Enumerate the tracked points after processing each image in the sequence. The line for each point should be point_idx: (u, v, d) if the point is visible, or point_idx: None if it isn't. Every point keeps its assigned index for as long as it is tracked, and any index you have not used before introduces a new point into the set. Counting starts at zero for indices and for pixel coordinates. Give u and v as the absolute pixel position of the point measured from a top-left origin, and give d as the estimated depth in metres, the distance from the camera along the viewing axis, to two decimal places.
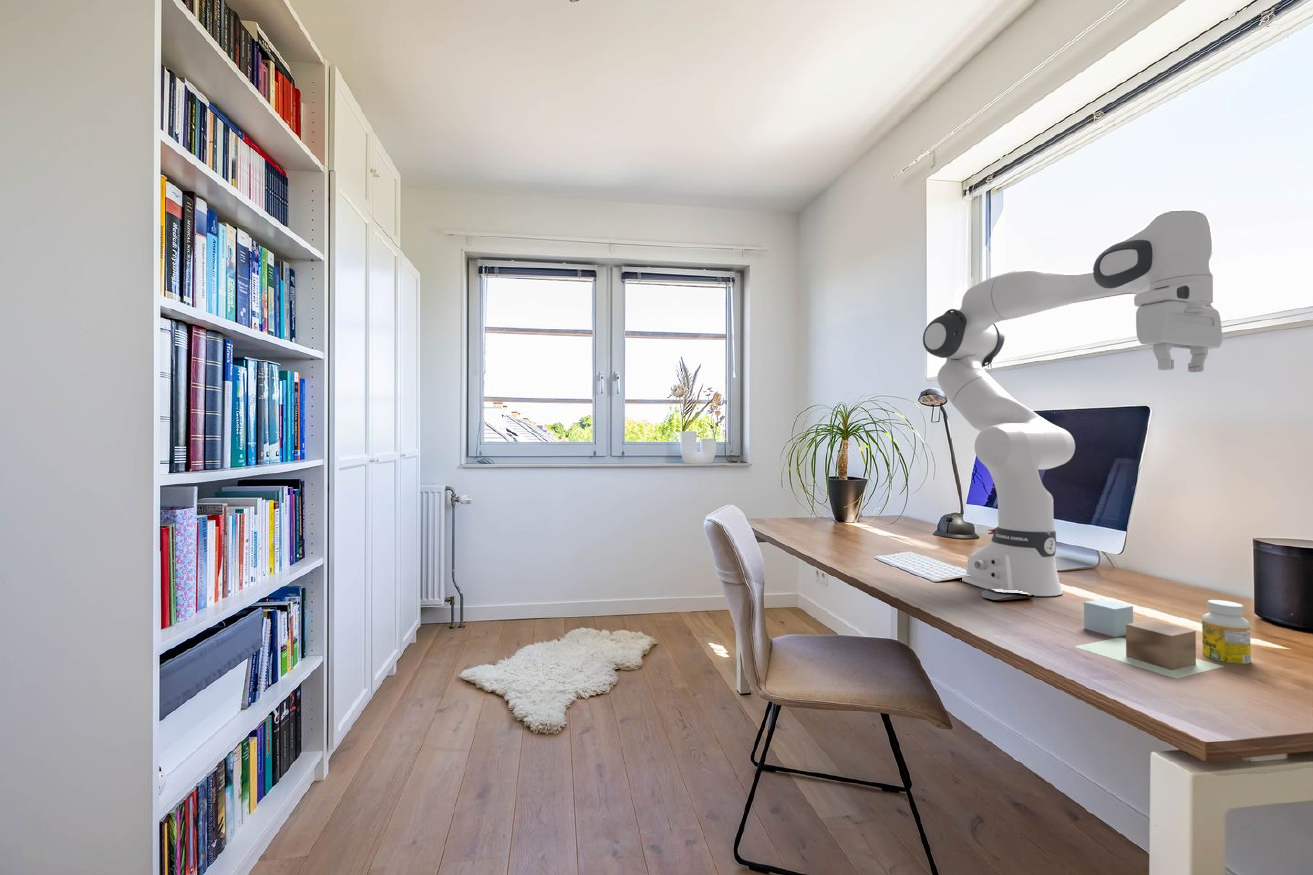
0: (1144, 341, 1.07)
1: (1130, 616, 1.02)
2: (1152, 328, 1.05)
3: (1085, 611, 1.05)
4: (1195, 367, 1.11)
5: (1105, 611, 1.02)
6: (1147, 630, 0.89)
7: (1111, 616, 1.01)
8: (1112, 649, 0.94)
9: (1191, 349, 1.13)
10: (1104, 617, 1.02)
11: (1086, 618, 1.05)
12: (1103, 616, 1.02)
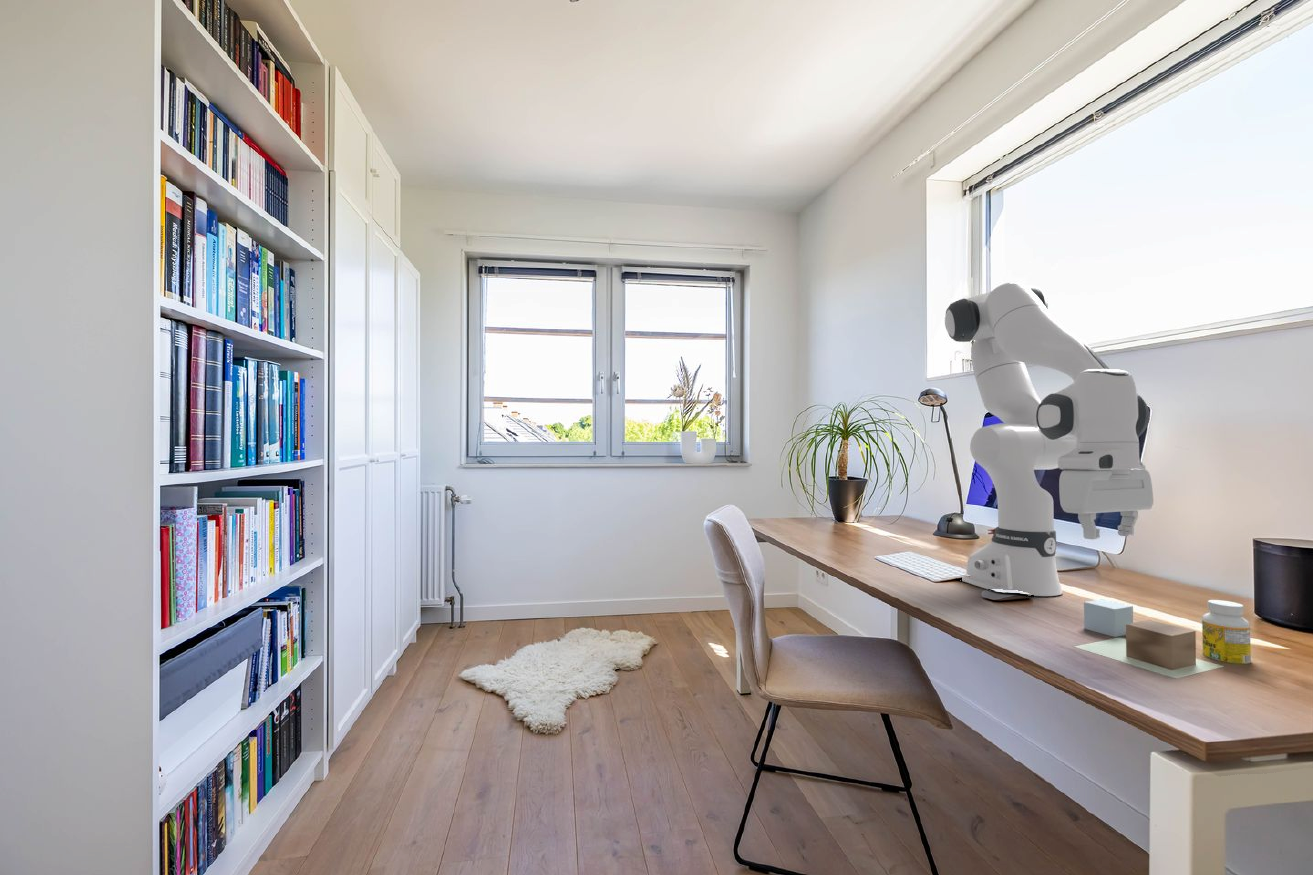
0: (1067, 510, 1.01)
1: (1130, 616, 1.02)
2: (1074, 498, 0.99)
3: (1085, 611, 1.05)
4: (1125, 531, 1.05)
5: (1105, 611, 1.02)
6: (1147, 630, 0.89)
7: (1111, 616, 1.01)
8: (1112, 649, 0.94)
9: (1121, 510, 1.06)
10: (1104, 617, 1.02)
11: (1086, 618, 1.05)
12: (1103, 616, 1.02)
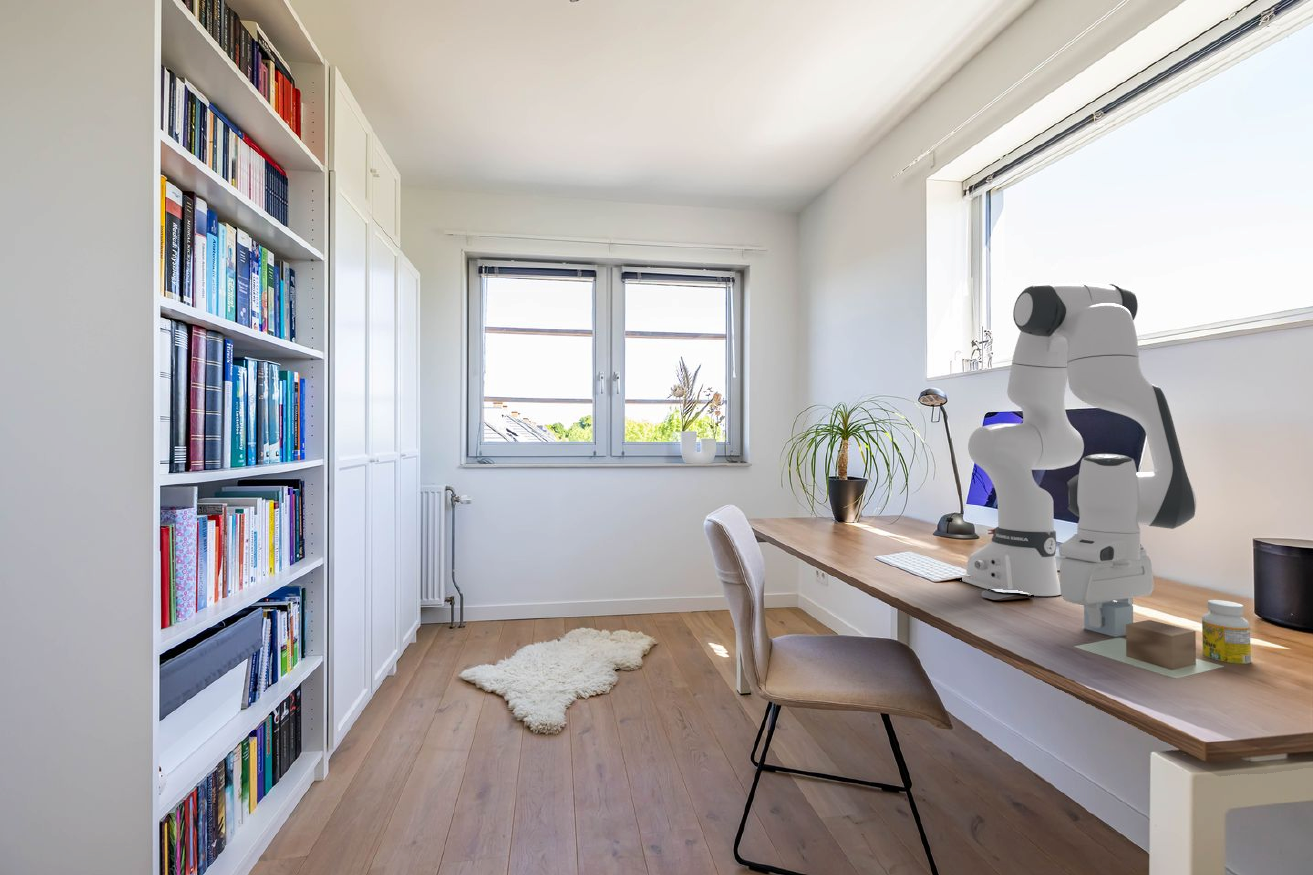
0: (1067, 599, 1.01)
1: (1130, 615, 1.02)
2: (1075, 590, 0.99)
3: (1085, 611, 1.05)
4: None
5: (1106, 610, 1.02)
6: (1147, 630, 0.89)
7: (1111, 615, 1.01)
8: (1112, 649, 0.94)
9: None
10: (1104, 616, 1.02)
11: (1086, 618, 1.05)
12: (1103, 616, 1.02)
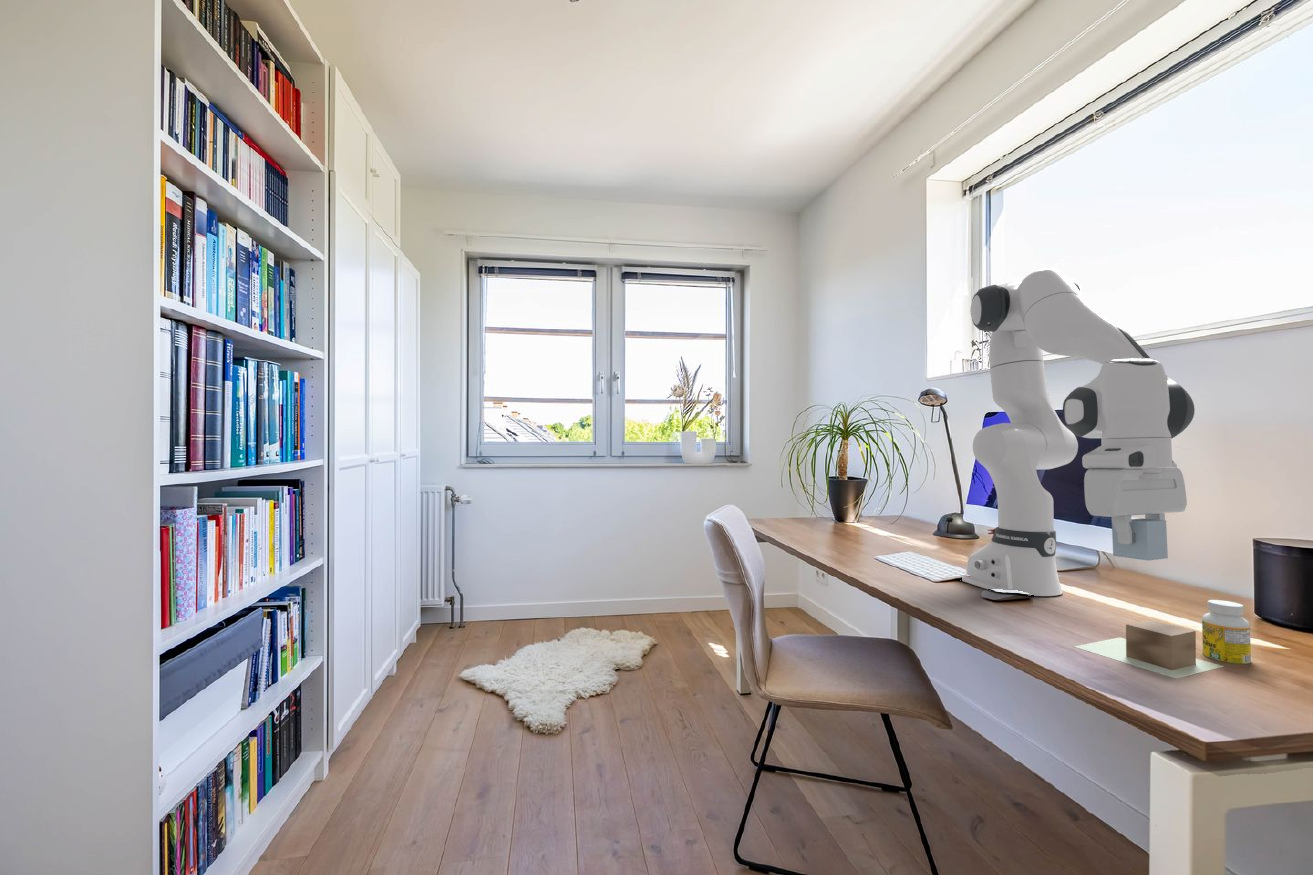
0: (1093, 512, 0.92)
1: (1163, 531, 0.93)
2: (1102, 500, 0.91)
3: (1113, 529, 0.96)
4: None
5: (1136, 525, 0.93)
6: (1147, 630, 0.89)
7: (1142, 530, 0.92)
8: (1112, 649, 0.94)
9: None
10: (1134, 532, 0.93)
11: (1115, 537, 0.96)
12: (1134, 531, 0.93)
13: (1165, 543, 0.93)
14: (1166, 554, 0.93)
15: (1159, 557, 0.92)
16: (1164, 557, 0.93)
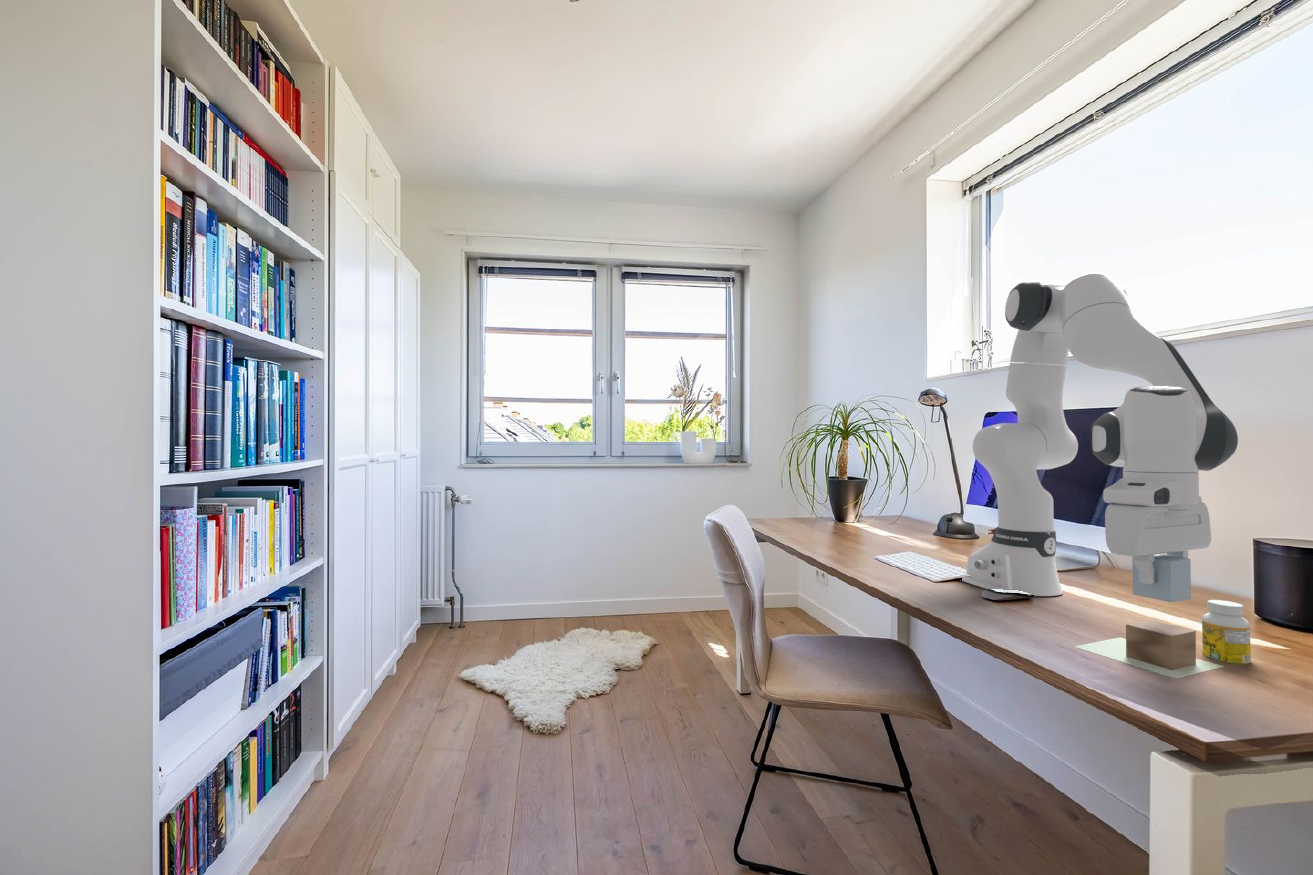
0: (1114, 551, 0.87)
1: (1187, 570, 0.88)
2: (1124, 539, 0.85)
3: (1134, 566, 0.91)
4: None
5: (1159, 564, 0.88)
6: (1147, 630, 0.89)
7: (1165, 569, 0.87)
8: (1112, 649, 0.94)
9: None
10: (1157, 571, 0.88)
11: (1135, 574, 0.91)
12: (1156, 570, 0.88)
13: (1189, 583, 0.88)
14: (1189, 594, 0.88)
15: (1182, 598, 0.87)
16: (1187, 598, 0.88)
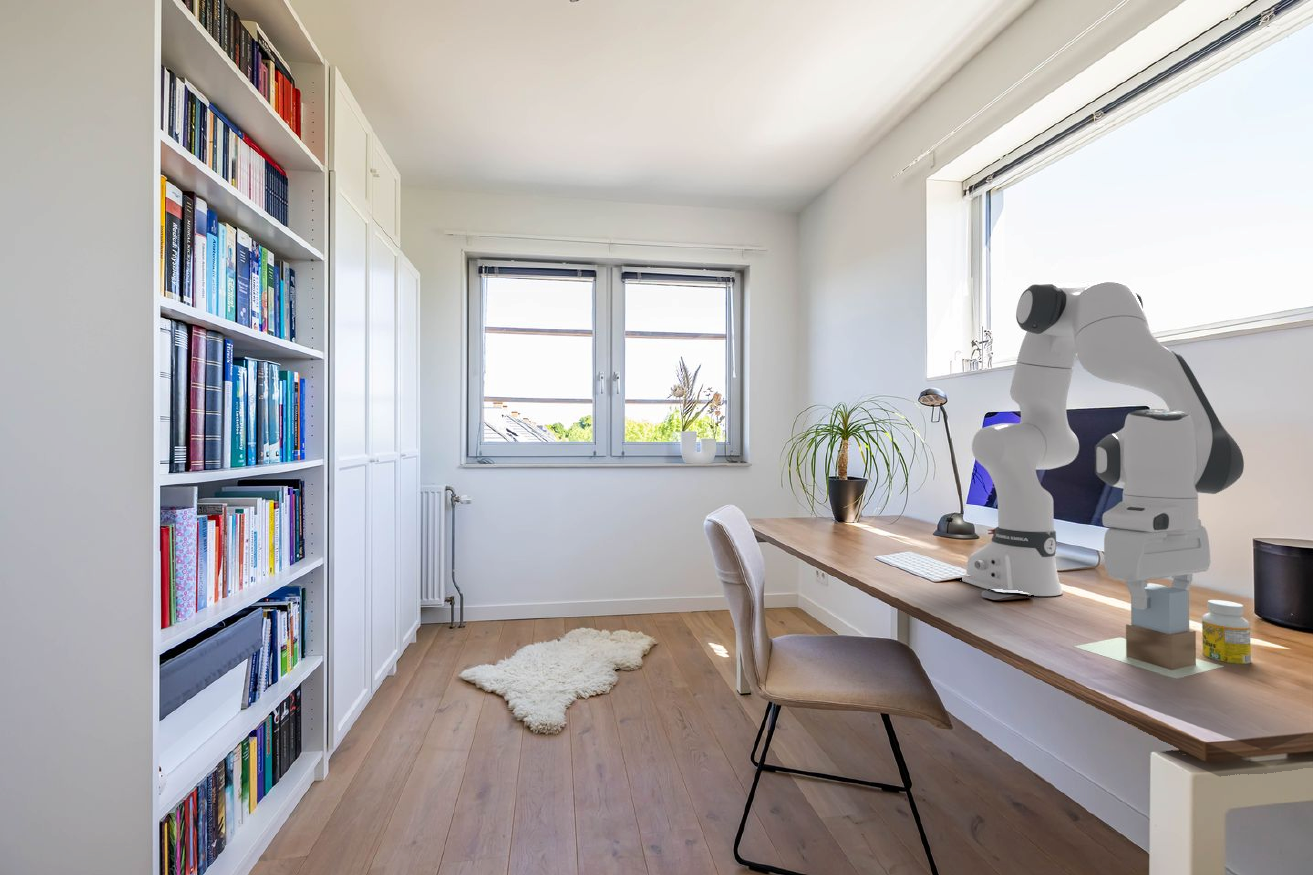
0: (1113, 576, 0.87)
1: (1186, 602, 0.88)
2: (1123, 564, 0.85)
3: None
4: None
5: (1158, 596, 0.88)
6: (1147, 630, 0.89)
7: (1164, 601, 0.87)
8: (1112, 649, 0.94)
9: None
10: (1155, 603, 0.88)
11: None
12: (1155, 602, 0.88)
13: (1187, 614, 0.88)
14: (1187, 626, 0.88)
15: (1180, 630, 0.88)
16: (1185, 629, 0.88)
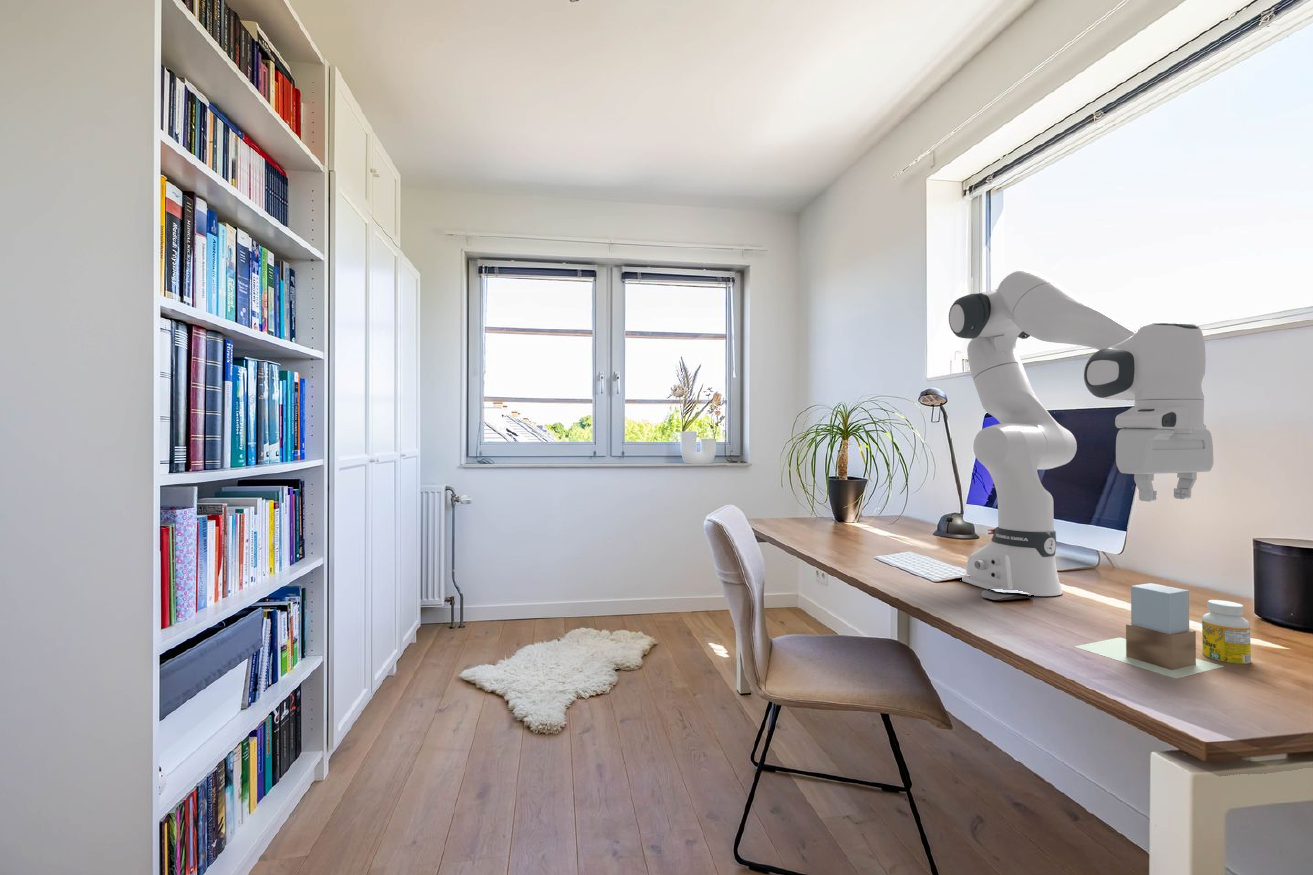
0: (1123, 470, 0.96)
1: (1186, 602, 0.88)
2: (1133, 458, 0.94)
3: (1132, 596, 0.91)
4: (1181, 494, 1.00)
5: (1158, 596, 0.88)
6: (1147, 630, 0.89)
7: (1164, 601, 0.87)
8: (1112, 649, 0.94)
9: None
10: (1155, 603, 0.88)
11: (1134, 605, 0.91)
12: (1155, 602, 0.88)
13: (1187, 614, 0.88)
14: (1187, 626, 0.88)
15: (1180, 630, 0.88)
16: (1185, 629, 0.88)
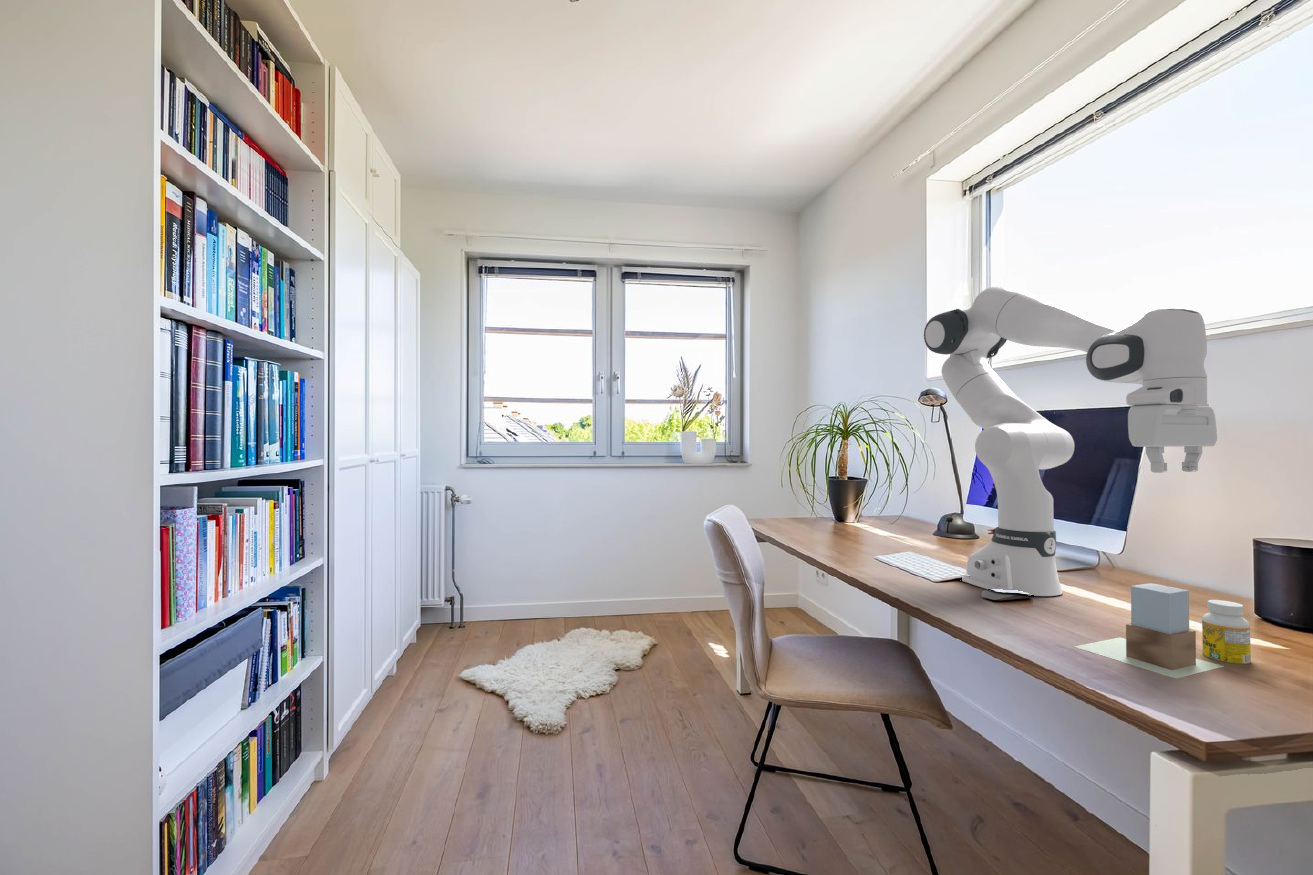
0: (1136, 444, 1.04)
1: (1186, 602, 0.88)
2: (1144, 432, 1.02)
3: (1132, 596, 0.91)
4: (1189, 467, 1.08)
5: (1158, 596, 0.88)
6: (1147, 630, 0.89)
7: (1164, 601, 0.87)
8: (1112, 649, 0.94)
9: (1185, 447, 1.09)
10: (1155, 603, 0.88)
11: (1134, 605, 0.91)
12: (1155, 602, 0.88)
13: (1187, 614, 0.88)
14: (1187, 626, 0.88)
15: (1180, 630, 0.88)
16: (1185, 629, 0.88)
